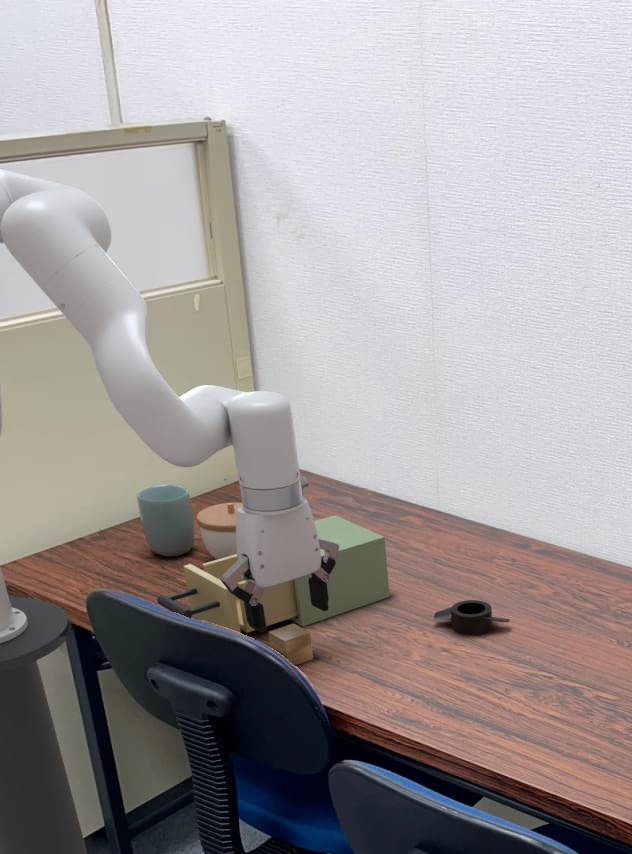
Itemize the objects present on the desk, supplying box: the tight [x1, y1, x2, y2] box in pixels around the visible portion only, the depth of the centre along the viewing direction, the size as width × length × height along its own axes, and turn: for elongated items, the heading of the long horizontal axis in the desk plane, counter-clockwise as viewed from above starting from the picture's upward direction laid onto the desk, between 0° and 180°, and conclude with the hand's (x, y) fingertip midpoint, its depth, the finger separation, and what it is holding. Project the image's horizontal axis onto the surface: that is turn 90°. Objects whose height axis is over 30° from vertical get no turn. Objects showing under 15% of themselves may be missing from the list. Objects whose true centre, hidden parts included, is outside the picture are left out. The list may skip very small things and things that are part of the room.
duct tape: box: [433, 599, 511, 636], centre depth 172 cm, size 8×10×3 cm
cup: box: [136, 484, 196, 558], centre depth 192 cm, size 8×8×10 cm
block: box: [268, 622, 314, 667], centre depth 162 cm, size 4×4×4 cm
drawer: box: [156, 554, 298, 634], centre depth 169 cm, size 20×11×8 cm, turn 136°
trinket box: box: [196, 502, 243, 560], centre depth 190 cm, size 11×11×9 cm
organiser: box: [288, 514, 390, 628], centre depth 177 cm, size 16×13×10 cm
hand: (289, 618), depth 160 cm, fingers open, 9 cm apart
